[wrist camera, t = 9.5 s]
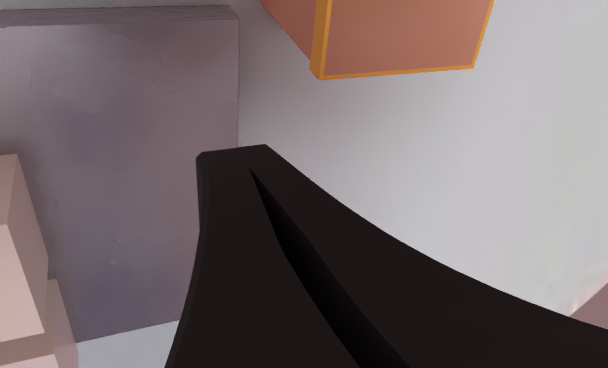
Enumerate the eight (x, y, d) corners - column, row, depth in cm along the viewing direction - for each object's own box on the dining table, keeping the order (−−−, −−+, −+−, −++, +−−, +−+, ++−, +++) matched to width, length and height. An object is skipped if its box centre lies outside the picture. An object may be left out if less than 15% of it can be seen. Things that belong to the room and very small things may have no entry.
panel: (228, 286, 22) (239, 318, 20) (-175, 369, 17) (-196, 418, 16) (229, 5, 15) (244, 27, 13) (-464, 20, 10) (-545, 56, 9)
